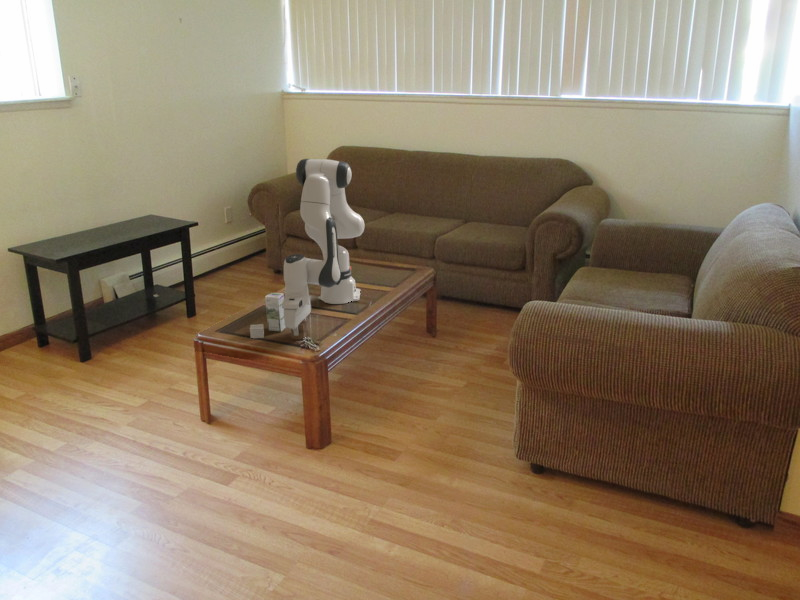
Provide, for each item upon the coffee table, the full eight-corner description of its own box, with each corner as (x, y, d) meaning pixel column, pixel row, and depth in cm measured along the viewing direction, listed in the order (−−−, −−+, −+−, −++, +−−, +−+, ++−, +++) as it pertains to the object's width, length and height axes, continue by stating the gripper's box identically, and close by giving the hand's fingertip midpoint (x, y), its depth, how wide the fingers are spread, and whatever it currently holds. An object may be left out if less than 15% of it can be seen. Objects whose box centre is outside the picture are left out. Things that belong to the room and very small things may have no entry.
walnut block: (296, 334, 266) (295, 320, 264) (308, 335, 265) (307, 320, 263) (291, 339, 261) (290, 324, 260) (304, 339, 261) (303, 325, 259)
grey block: (251, 334, 268) (250, 324, 266) (264, 333, 268) (263, 323, 267) (250, 339, 263) (249, 329, 262) (263, 338, 264) (263, 328, 262)
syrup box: (286, 327, 274) (283, 292, 270) (280, 332, 269) (278, 297, 264) (273, 326, 275) (270, 292, 271) (267, 331, 270) (264, 296, 265)
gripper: (298, 289, 269) (300, 322, 273) (279, 305, 250) (282, 340, 254) (313, 289, 267) (315, 322, 272) (296, 306, 248) (299, 341, 253)
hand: (299, 331), depth 263 cm, fingers open, 5 cm apart
